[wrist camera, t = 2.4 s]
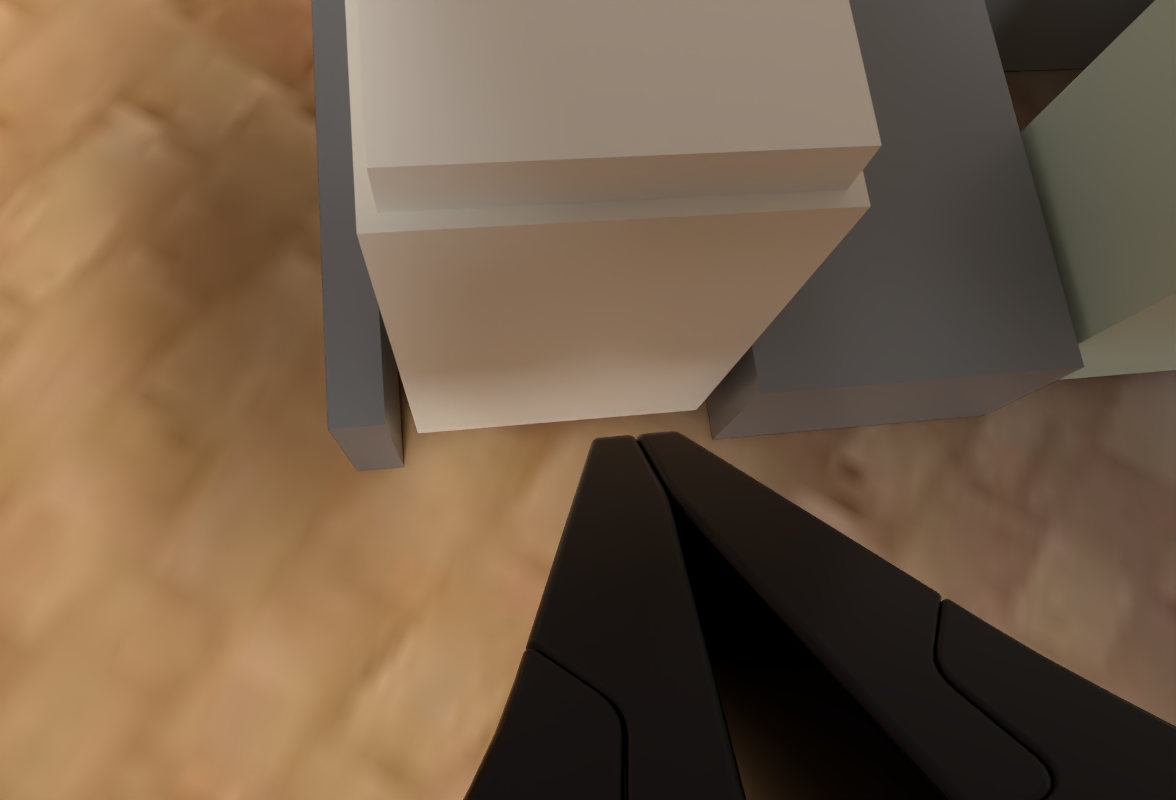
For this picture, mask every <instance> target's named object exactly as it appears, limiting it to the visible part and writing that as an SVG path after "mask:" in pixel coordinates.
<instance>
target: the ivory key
mask: <svg viewBox="0 0 1176 800" xmlns="http://www.w3.org/2000/svg"><path fill="white" fill-rule="evenodd" d="M345 13H346V33H347V53H348V73H349V93H350V113H351V133H352V153H353V173H354V193H355V213H356V232H357V237H358V240H359V243H360V247H361V250H362V253H363V256H364V260H365V263H366V266H367V269H368V273H369V276H370V279H371V282H372V286H373V289H374V292H375V295H376V299H377V302H378V305H379V308H380V312H381V315H382V318H383V321H384V325H385V328H386V331H387V334H388V338H389V341H390V344H391V347H392V351H393V354H394V357H395V360H396V364H397V367H398V370H399V373H400V376H401V380H402V383H403V386H404V389H405V393H406V396H407V399H408V402H409V406H410V409H411V412H412V415H413V419H414V422H415V425H416V428H417V432H418V433H428V432H440V431H452V430H464V429H476V428H488V427H500V426H512V425H524V424H535V423H547V422H559V421H571V420H583V419H595V418H607V417H619V416H631V415H643V414H655V413H667V412H679V411H691V410H697V409H698V408H699V406H700V405H701V404H702V403H703V402H704V401H705V399H706V398H707V397H708V396H709V395H710V394H711V392H712V391H713V390H714V389H715V388H716V387H717V385H718V384H719V383H720V382H721V381H722V380H723V378H724V377H725V376H726V375H727V374H728V373H729V371H730V370H731V369H732V368H733V367H734V366H735V364H736V363H737V362H738V361H739V360H740V359H741V357H742V356H743V355H744V354H745V353H746V351H747V350H748V349H749V348H750V347H751V346H752V344H753V343H754V342H755V341H756V340H757V339H758V337H759V336H760V335H761V334H762V333H763V332H764V330H765V329H766V328H767V327H768V326H769V325H770V323H771V322H772V321H773V320H774V319H775V318H776V316H777V315H778V314H779V313H780V312H781V311H782V309H783V308H784V307H785V306H786V305H787V304H788V302H789V301H790V300H791V299H792V298H793V297H794V295H795V294H796V293H797V292H798V291H799V290H800V288H801V287H802V286H803V285H804V284H805V283H806V281H807V280H808V279H809V278H810V277H811V276H812V274H813V273H814V272H815V271H816V270H817V268H818V267H819V266H820V265H821V264H822V263H823V261H824V260H825V259H826V258H827V257H828V256H829V254H830V253H831V252H832V251H833V250H834V249H835V247H836V246H837V245H838V244H839V243H840V242H841V240H842V239H843V238H844V237H845V236H846V235H847V233H848V232H849V231H850V230H851V229H852V228H853V226H854V225H855V224H856V223H857V222H858V221H859V219H860V218H861V217H862V216H863V215H864V214H865V212H866V211H867V210H868V209H869V208H870V207H871V205H870V201H869V196H868V192H867V187H866V183H865V178H864V173H863V169H864V168H865V166H866V165H867V164H868V163H869V161H870V160H871V159H872V157H873V156H874V155H875V154H876V152H877V151H878V150H879V148H880V147H881V146H882V144H881V140H880V135H879V131H878V126H877V122H876V118H875V113H874V109H873V104H872V100H871V95H870V91H869V87H868V82H867V78H866V73H865V69H864V64H863V60H862V56H861V51H860V47H859V42H858V38H857V34H856V29H855V25H854V20H853V16H852V11H851V7H850V3H849V0H345Z"/></svg>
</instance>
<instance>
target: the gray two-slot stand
mask: <svg viewBox="0 0 1176 800" xmlns="http://www.w3.org/2000/svg"><path fill="white" fill-rule="evenodd" d="M1154 1H1155V0H849V3H850V7H851V11H852V16H853V20H854V25H855V29H856V34H857V38H858V42H859V47H860V51H861V56H862V60H863V64H864V69H865V73H866V78H867V82H868V87H869V91H870V95H871V100H872V104H873V109H874V113H875V118H876V122H877V126H878V131H879V135H880V140H881V144H882V146H881V147H880V148H879V150H878V151H877V152H876V154H875V155H874V156H873V157H872V159H871V160H870V161H869V163H868V164H867V165H866V166H865V168H864V169H863V173H864V178H865V183H866V187H867V192H868V196H869V201H870V205H871V207H870V208H869V209H868V210H867V211H866V212H865V214H864V215H863V216H862V217H861V218H860V219H859V221H858V222H857V223H856V224H855V225H854V226H853V228H852V229H851V230H850V231H849V232H848V233H847V235H846V236H845V237H844V238H843V239H842V240H841V242H840V243H839V244H838V245H837V246H836V247H835V249H834V250H833V251H832V252H831V253H830V254H829V256H828V257H827V258H826V259H825V260H824V261H823V263H822V264H821V265H820V266H819V267H818V268H817V270H816V271H815V272H814V273H813V274H812V276H811V277H810V278H809V279H808V280H807V281H806V283H805V284H804V285H803V286H802V287H801V288H800V290H799V291H798V292H797V293H796V294H795V295H794V297H793V298H792V299H791V300H790V301H789V302H788V304H787V305H786V306H785V307H784V308H783V309H782V311H781V312H780V313H779V314H778V315H777V316H776V318H775V319H774V320H773V321H772V322H771V323H770V325H769V326H768V327H767V328H766V329H765V330H764V332H763V333H762V334H761V335H760V336H759V337H758V339H757V340H756V341H755V342H754V343H753V344H752V346H751V347H750V348H749V349H748V350H747V351H746V353H745V354H744V355H743V356H742V357H741V359H740V360H739V361H738V362H737V363H736V364H735V366H734V367H733V368H732V369H731V370H730V371H729V373H728V374H727V375H726V376H725V377H724V378H723V380H722V381H721V382H720V383H719V384H718V385H717V387H716V388H715V389H714V390H713V391H712V392H711V394H710V395H709V396H708V397H707V398H706V400H707V407H708V413H709V420H710V426H711V433H712V439H723V438H734V437H746V436H757V435H768V434H779V433H791V432H802V431H813V430H825V429H836V428H847V427H858V426H870V425H881V424H892V423H903V422H915V421H926V420H937V419H949V418H960V417H971V416H982V415H986V414H988V413H990V412H992V411H994V410H997V409H999V408H1001V407H1003V406H1005V405H1007V404H1009V403H1011V402H1013V401H1015V400H1017V399H1019V398H1021V397H1023V396H1026V395H1028V394H1030V393H1032V392H1034V391H1036V390H1038V389H1040V388H1042V387H1044V386H1046V385H1048V384H1050V383H1053V382H1055V381H1057V380H1059V379H1061V378H1063V377H1065V376H1067V375H1069V374H1071V373H1073V372H1075V371H1077V370H1079V369H1082V368H1084V364H1083V360H1082V356H1081V353H1080V349H1079V345H1078V342H1077V338H1076V334H1075V331H1074V327H1073V323H1072V320H1071V316H1070V312H1069V309H1068V305H1067V301H1066V298H1065V294H1064V290H1063V287H1062V283H1061V280H1060V276H1059V272H1058V269H1057V265H1056V261H1055V258H1054V254H1053V250H1052V247H1051V243H1050V239H1049V236H1048V232H1047V228H1046V225H1045V221H1044V217H1043V214H1042V210H1041V206H1040V203H1039V199H1038V195H1037V192H1036V188H1035V184H1034V181H1033V177H1032V173H1031V170H1030V166H1029V162H1028V159H1027V155H1026V151H1025V148H1024V144H1023V140H1022V137H1021V133H1020V129H1019V126H1018V122H1017V118H1016V115H1015V111H1014V107H1013V104H1012V100H1011V96H1010V93H1009V89H1008V85H1007V82H1006V78H1005V74H1004V71H1023V70H1054V69H1085V68H1087V67H1088V66H1089V65H1090V64H1091V63H1092V62H1093V61H1094V60H1095V59H1096V58H1097V57H1098V56H1099V55H1100V54H1101V53H1102V52H1103V51H1104V50H1105V49H1106V48H1107V47H1108V46H1109V45H1110V44H1111V43H1112V42H1113V41H1114V40H1115V39H1116V38H1117V37H1118V36H1119V35H1120V34H1121V33H1122V32H1123V31H1124V30H1125V29H1126V28H1127V27H1128V26H1129V25H1130V24H1131V23H1132V22H1133V21H1135V20H1136V19H1137V18H1138V17H1139V16H1140V15H1141V14H1142V13H1143V12H1144V11H1145V10H1146V9H1147V8H1148V7H1149V6H1150V5H1151V4H1152V3H1153V2H1154ZM312 26H313V52H314V78H315V104H316V130H317V157H318V183H319V209H320V235H321V261H322V287H323V313H324V339H325V365H326V391H327V417H328V430H329V431H330V433H331V434H332V436H333V437H334V439H335V440H336V441H337V443H338V444H339V446H340V447H341V449H342V450H343V451H344V453H345V454H346V456H347V457H348V459H349V460H350V461H351V463H352V464H353V466H354V467H355V469H356V470H357V471H362V470H373V469H385V468H396V467H404V463H403V446H402V430H401V413H400V397H399V380H398V367H397V364H396V360H395V357H394V354H393V351H392V347H391V344H390V341H389V338H388V334H387V331H386V328H385V325H384V321H383V318H382V315H381V312H380V308H379V305H378V302H377V299H376V295H375V292H374V289H373V286H372V282H371V279H370V276H369V273H368V269H367V266H366V263H365V260H364V256H363V253H362V250H361V247H360V243H359V240H358V237H357V232H356V213H355V193H354V173H353V153H352V133H351V113H350V93H349V73H348V53H347V33H346V13H345V0H312Z"/></svg>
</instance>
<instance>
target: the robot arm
mask: <svg viewBox="0 0 1176 800" xmlns="http://www.w3.org/2000/svg"><path fill="white" fill-rule="evenodd" d="M463 800H1176V727H1175V726H1174V725H1172V724H1170V723H1168V722H1166V721H1164V720H1162V719H1160V718H1158V717H1156V716H1154V715H1152V714H1151V713H1149V712H1147V711H1145V710H1143V709H1141V708H1139V707H1137V706H1135V705H1133V704H1131V703H1129V702H1128V701H1126V700H1124V699H1122V698H1120V697H1118V696H1116V695H1114V694H1112V693H1110V692H1109V691H1107V690H1105V689H1103V688H1101V687H1099V686H1097V685H1096V684H1094V683H1092V682H1090V681H1088V680H1086V679H1085V678H1083V677H1081V676H1079V675H1077V674H1075V673H1074V672H1072V671H1070V670H1068V669H1066V668H1064V667H1062V666H1061V665H1059V664H1057V663H1055V662H1053V661H1051V660H1050V659H1048V658H1046V657H1044V656H1042V655H1041V654H1039V653H1037V652H1036V651H1034V650H1032V649H1030V648H1029V647H1027V646H1025V645H1024V644H1022V643H1020V642H1019V641H1017V640H1015V639H1014V638H1012V637H1010V636H1008V635H1007V634H1005V633H1003V632H1002V631H1000V630H998V629H997V628H995V627H993V626H992V625H990V624H988V623H986V622H985V621H983V620H982V619H980V618H978V617H977V616H975V615H973V614H972V613H970V612H969V611H967V610H965V609H964V608H962V607H961V606H959V605H957V604H956V603H954V602H952V601H951V600H949V599H944V600H943V601H942V602H941V596H940V594H939V593H937V592H936V591H934V590H933V589H931V588H929V587H928V586H926V585H924V584H923V583H921V582H920V581H918V580H916V579H915V578H913V577H912V576H910V575H908V574H907V573H905V572H904V571H902V570H900V569H899V568H897V567H895V566H894V565H892V564H891V563H889V562H887V561H886V560H884V559H883V558H881V557H879V556H878V555H876V554H874V553H873V552H871V551H870V550H868V549H866V548H865V547H863V546H862V545H860V544H858V543H857V542H855V541H853V540H852V539H850V538H849V537H847V536H845V535H844V534H842V533H841V532H839V531H837V530H836V529H834V528H832V527H831V526H829V525H828V524H826V523H824V522H823V521H821V520H820V519H818V518H816V517H815V516H813V515H812V514H810V513H808V512H807V511H805V510H803V509H802V508H800V507H799V506H797V505H795V504H794V503H792V502H791V501H789V500H787V499H786V498H784V497H782V496H781V495H779V494H778V493H776V492H774V491H773V490H771V489H770V488H768V487H766V486H765V485H763V484H761V483H760V482H758V481H757V480H755V479H753V478H752V477H750V476H749V475H747V474H745V473H744V472H742V471H740V470H739V469H737V468H736V467H734V466H732V465H731V464H729V463H728V462H726V461H724V460H723V459H721V458H719V457H718V456H716V455H715V454H713V453H711V452H710V451H708V450H707V449H705V448H703V447H702V446H700V445H699V444H697V443H695V442H694V441H692V440H690V439H689V438H687V437H686V436H684V435H682V434H680V433H678V432H674V431H670V432H659V433H648V434H642V435H639V436H638V437H637V439H635V438H634V437H632V436H629V435H626V436H614V437H603V438H596V439H595V440H593V442H592V443H591V446H590V449H589V452H588V456H587V459H586V462H585V465H584V468H583V471H582V474H581V477H580V480H579V484H578V487H577V490H576V493H575V496H574V499H573V502H572V505H571V508H570V512H569V515H568V518H567V521H566V524H565V527H564V530H563V533H562V536H561V540H560V543H559V546H558V549H557V552H556V555H555V558H554V561H553V564H552V568H551V571H550V574H549V577H548V580H547V583H546V586H545V589H544V592H543V596H542V599H541V602H540V605H539V608H538V611H537V614H536V617H535V620H534V624H533V627H532V630H531V633H530V636H529V639H528V642H527V646H526V651H525V652H524V653H523V656H522V659H521V662H520V665H519V668H518V671H517V675H516V678H515V681H514V684H513V686H512V689H511V692H510V695H509V697H508V700H507V703H506V705H505V708H504V711H503V713H502V716H501V719H500V721H499V724H498V727H497V729H496V732H495V734H494V736H493V738H492V741H491V743H490V745H489V747H488V749H487V751H486V753H485V756H484V758H483V760H482V762H481V764H480V766H479V768H478V771H477V773H476V775H475V777H474V779H473V781H472V783H471V786H470V788H469V789H468V791H467V793H466V795H465V797H464V799H463Z"/></svg>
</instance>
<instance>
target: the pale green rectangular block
mask: <svg viewBox="0 0 1176 800" xmlns="http://www.w3.org/2000/svg"><path fill="white" fill-rule="evenodd" d="M1020 133H1021V137H1022V140H1023V144H1024V148H1025V151H1026V155H1027V159H1028V162H1029V166H1030V170H1031V173H1032V177H1033V181H1034V184H1035V188H1036V192H1037V195H1038V199H1039V203H1040V206H1041V210H1042V214H1043V217H1044V221H1045V225H1046V228H1047V232H1048V236H1049V239H1050V243H1051V247H1052V250H1053V254H1054V258H1055V261H1056V265H1057V269H1058V272H1059V276H1060V280H1061V283H1062V287H1063V290H1064V294H1065V298H1066V301H1067V305H1068V309H1069V312H1070V316H1071V320H1072V323H1073V327H1074V331H1075V334H1076V338H1077V342H1078V345H1079V349H1080V353H1081V356H1082V360H1083V364H1084V368H1082V369H1079V370H1077V371H1075V372H1073V373H1071V374H1069V375H1067V376H1065V377H1063V378H1061V379H1059V380H1063V379H1075V378H1087V377H1099V376H1111V375H1123V374H1135V373H1147V372H1159V371H1171V370H1176V0H1155V1H1154V2H1153V3H1152V4H1151V5H1150V6H1149V7H1148V8H1147V9H1146V10H1145V11H1144V12H1143V13H1142V14H1141V15H1140V16H1139V17H1138V18H1137V19H1136V20H1135V21H1133V22H1132V23H1131V24H1130V25H1129V26H1128V27H1127V28H1126V29H1125V30H1124V31H1123V32H1122V33H1121V34H1120V35H1119V36H1118V37H1117V38H1116V39H1115V40H1114V41H1113V42H1112V43H1111V44H1110V45H1109V46H1108V47H1107V48H1106V49H1105V50H1104V51H1103V52H1102V53H1101V54H1100V55H1099V56H1098V57H1097V58H1096V59H1095V60H1094V61H1093V62H1092V63H1091V64H1090V65H1089V66H1088V67H1087V68H1086V69H1084V70H1083V71H1082V72H1081V73H1080V74H1079V75H1078V76H1077V77H1076V78H1075V79H1074V80H1073V81H1072V82H1071V83H1070V84H1069V85H1068V86H1067V87H1066V88H1065V89H1064V90H1063V91H1062V92H1061V93H1060V94H1059V95H1058V96H1057V97H1056V98H1055V99H1054V100H1053V101H1052V102H1051V103H1050V104H1049V105H1048V106H1047V107H1046V108H1045V109H1044V110H1043V111H1042V112H1041V113H1040V114H1039V115H1038V116H1037V117H1036V118H1034V119H1033V120H1032V121H1031V122H1030V123H1029V124H1028V125H1027V126H1026V127H1025V128H1024V129H1023V130H1022V131H1021V132H1020Z"/></svg>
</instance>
